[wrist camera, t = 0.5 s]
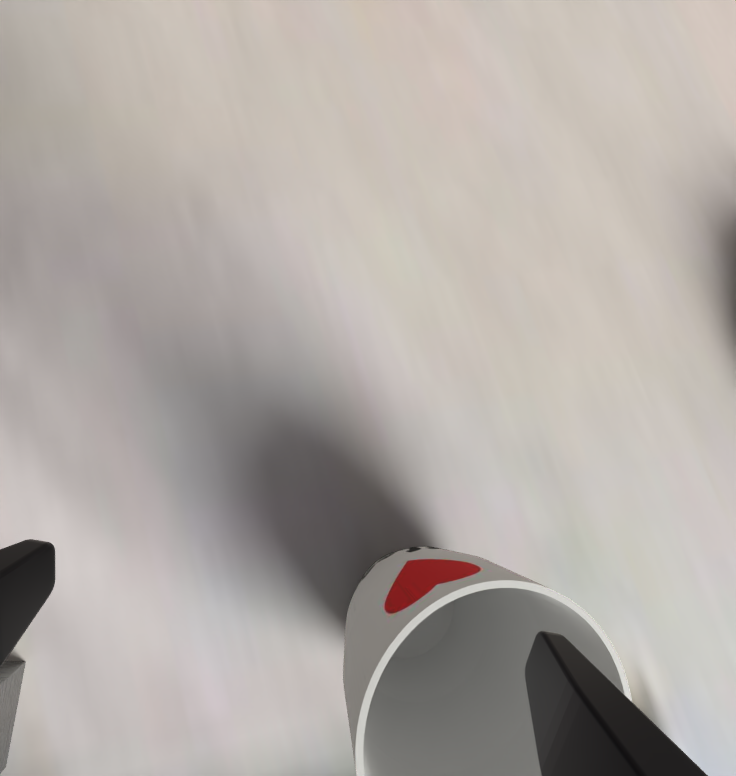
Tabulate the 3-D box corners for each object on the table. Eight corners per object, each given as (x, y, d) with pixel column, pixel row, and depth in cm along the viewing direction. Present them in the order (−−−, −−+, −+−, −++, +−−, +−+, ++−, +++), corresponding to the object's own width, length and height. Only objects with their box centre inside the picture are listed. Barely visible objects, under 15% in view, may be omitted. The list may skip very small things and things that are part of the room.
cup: (493, 530, 24) (645, 595, 14) (473, 701, 23) (622, 903, 13) (336, 508, 22) (381, 564, 13) (307, 689, 21) (331, 905, 11)
